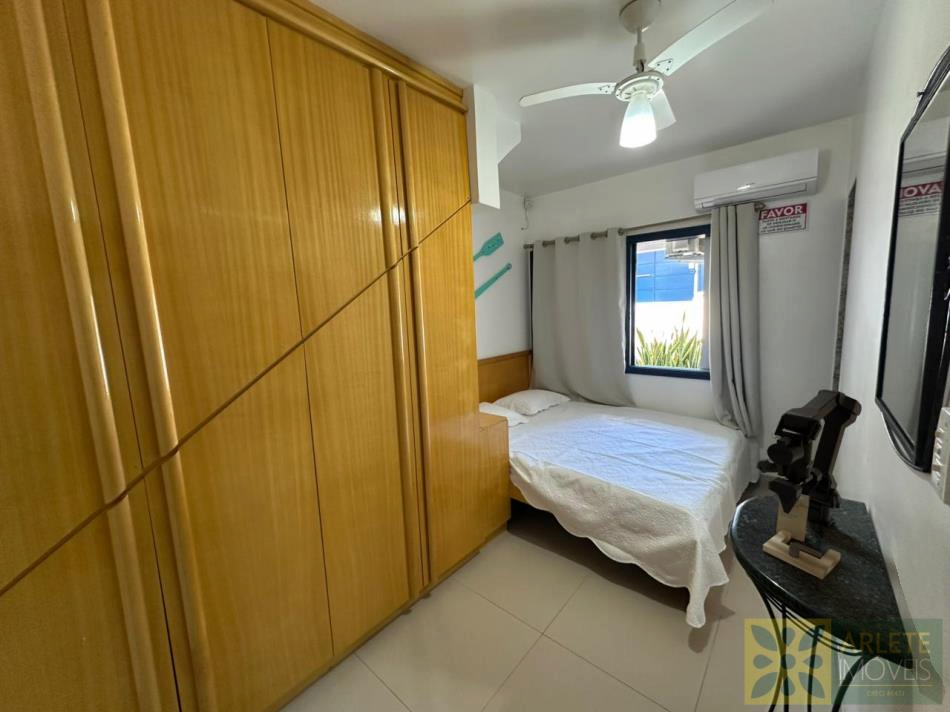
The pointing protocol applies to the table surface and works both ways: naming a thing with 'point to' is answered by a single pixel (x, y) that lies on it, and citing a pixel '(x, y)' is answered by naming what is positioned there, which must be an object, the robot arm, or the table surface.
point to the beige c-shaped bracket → (801, 555)
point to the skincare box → (794, 518)
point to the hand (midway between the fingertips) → (793, 507)
